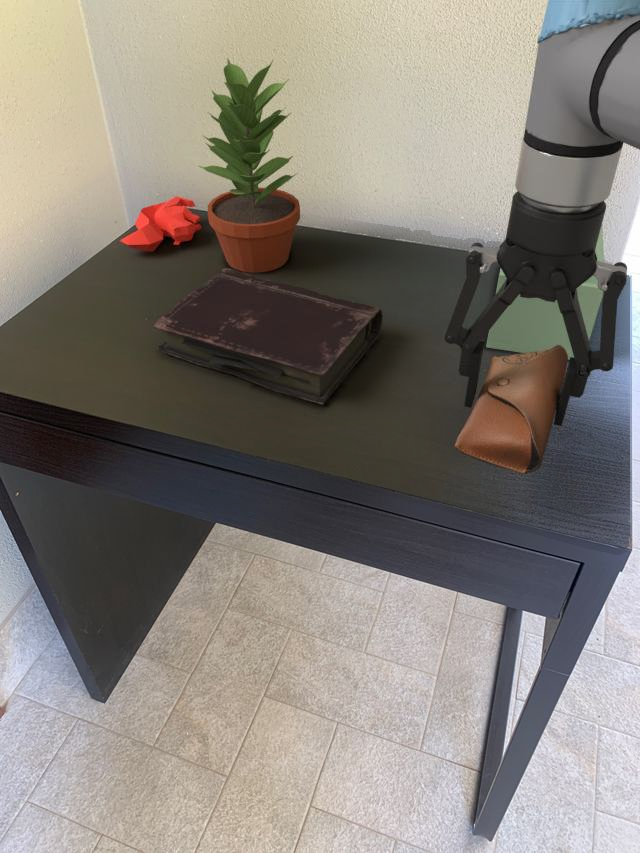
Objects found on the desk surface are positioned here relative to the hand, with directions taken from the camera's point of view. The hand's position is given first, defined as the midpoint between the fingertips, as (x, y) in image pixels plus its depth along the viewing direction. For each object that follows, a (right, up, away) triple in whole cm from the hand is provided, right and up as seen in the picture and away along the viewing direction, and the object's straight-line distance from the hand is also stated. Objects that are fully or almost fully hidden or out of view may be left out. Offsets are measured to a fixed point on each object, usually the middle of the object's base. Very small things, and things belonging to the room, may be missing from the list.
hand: (513, 408), depth 71 cm
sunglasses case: (0, 0, 0) cm, 1 cm away
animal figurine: (-47, +30, +46) cm, 72 cm away
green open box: (+12, +15, +28) cm, 34 cm away
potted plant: (-31, +26, +41) cm, 58 cm away
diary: (-27, +9, +22) cm, 36 cm away
